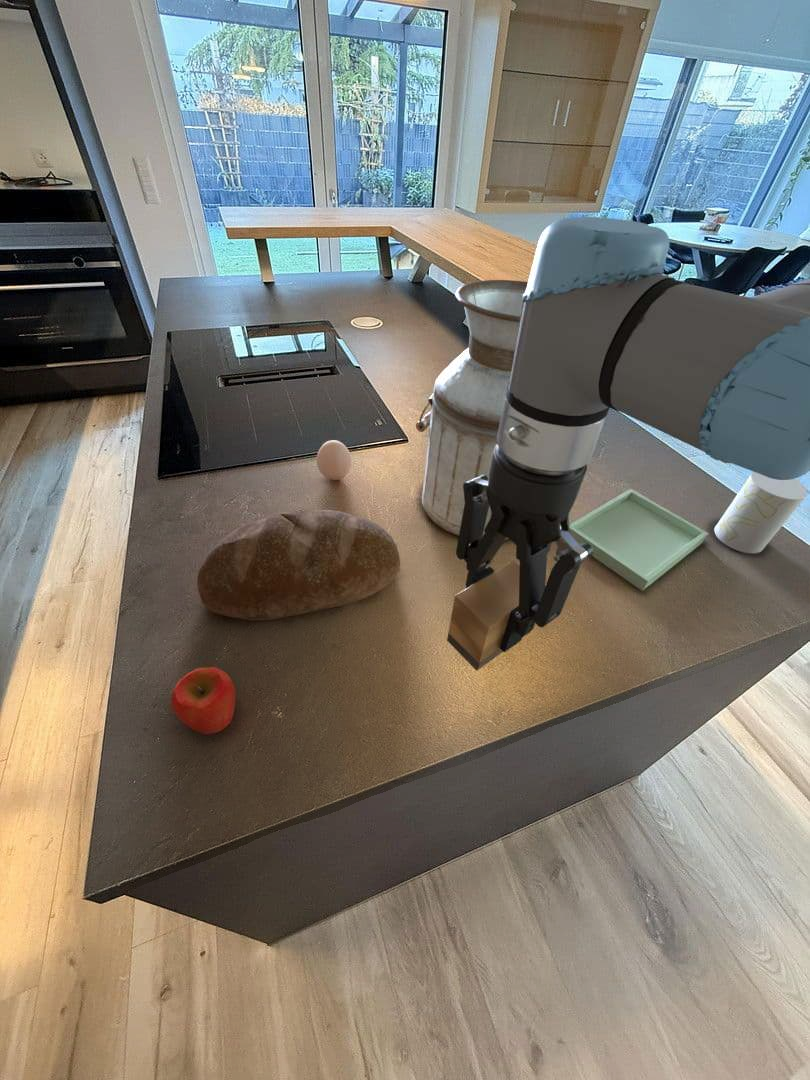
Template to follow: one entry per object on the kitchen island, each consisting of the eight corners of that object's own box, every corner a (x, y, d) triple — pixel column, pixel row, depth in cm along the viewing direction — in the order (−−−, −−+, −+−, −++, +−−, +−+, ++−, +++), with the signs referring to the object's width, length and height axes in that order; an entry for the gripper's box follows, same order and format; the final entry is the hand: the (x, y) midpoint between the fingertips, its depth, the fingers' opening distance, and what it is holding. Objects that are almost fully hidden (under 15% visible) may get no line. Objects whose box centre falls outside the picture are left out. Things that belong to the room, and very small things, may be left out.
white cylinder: (704, 524, 86) (740, 471, 78) (742, 521, 87) (780, 468, 79) (735, 555, 80) (776, 501, 72) (774, 551, 81) (819, 497, 73)
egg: (313, 471, 92) (310, 436, 86) (345, 464, 94) (344, 430, 89) (324, 490, 88) (321, 454, 82) (357, 482, 90) (356, 447, 84)
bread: (204, 562, 72) (184, 506, 65) (384, 532, 80) (385, 478, 72) (203, 644, 62) (179, 588, 54) (411, 601, 69) (417, 546, 61)
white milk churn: (558, 496, 90) (628, 297, 65) (521, 563, 76) (593, 341, 51) (444, 456, 98) (469, 266, 74) (392, 510, 84) (402, 297, 60)
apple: (228, 684, 58) (214, 650, 52) (252, 721, 54) (239, 689, 49) (178, 715, 54) (158, 682, 49) (199, 756, 51) (180, 725, 46)
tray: (702, 542, 82) (708, 533, 80) (642, 591, 73) (648, 581, 71) (625, 497, 91) (630, 488, 89) (563, 535, 81) (567, 526, 80)
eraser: (530, 631, 55) (548, 587, 49) (476, 671, 50) (488, 627, 45) (500, 605, 58) (513, 560, 52) (446, 640, 53) (454, 595, 48)
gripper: (433, 418, 40) (417, 592, 56) (611, 530, 30) (530, 704, 46) (493, 398, 44) (462, 567, 60) (670, 491, 34) (576, 666, 50)
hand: (491, 626), depth 53 cm, fingers closed on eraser, 5 cm apart
